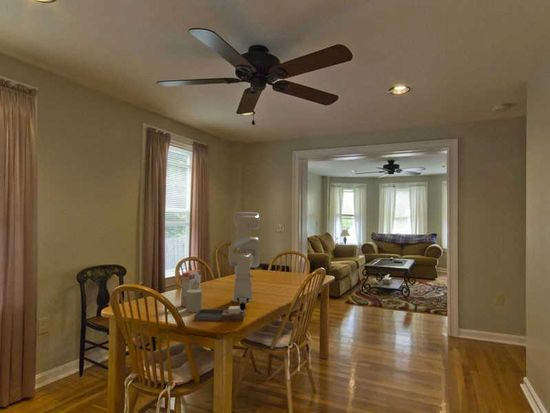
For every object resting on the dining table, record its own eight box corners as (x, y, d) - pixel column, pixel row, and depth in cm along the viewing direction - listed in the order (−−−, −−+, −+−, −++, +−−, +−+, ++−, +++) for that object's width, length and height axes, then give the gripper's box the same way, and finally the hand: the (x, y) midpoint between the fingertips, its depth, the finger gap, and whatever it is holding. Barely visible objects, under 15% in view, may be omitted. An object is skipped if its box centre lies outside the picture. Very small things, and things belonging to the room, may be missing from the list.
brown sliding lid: (224, 313, 198) (224, 308, 198) (245, 314, 198) (245, 308, 199) (220, 320, 184) (221, 315, 184) (243, 321, 184) (243, 315, 185)
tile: (229, 310, 194) (229, 306, 194) (240, 310, 194) (240, 306, 195) (228, 313, 188) (228, 308, 188) (239, 313, 188) (239, 309, 189)
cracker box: (189, 307, 210) (189, 273, 211) (180, 306, 212) (181, 272, 212) (200, 302, 223) (201, 270, 224) (192, 301, 225) (193, 269, 226)
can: (202, 308, 210) (202, 288, 210) (201, 312, 201) (201, 291, 201) (186, 308, 209) (187, 288, 209) (185, 312, 199) (185, 291, 200)
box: (199, 313, 198) (199, 308, 198) (223, 313, 198) (224, 309, 198) (194, 320, 184) (194, 315, 184) (220, 320, 184) (220, 316, 184)
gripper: (257, 276, 196) (256, 308, 195) (230, 275, 196) (230, 308, 195) (256, 278, 188) (255, 312, 188) (229, 278, 188) (228, 311, 188)
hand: (242, 310), depth 191 cm, fingers closed
